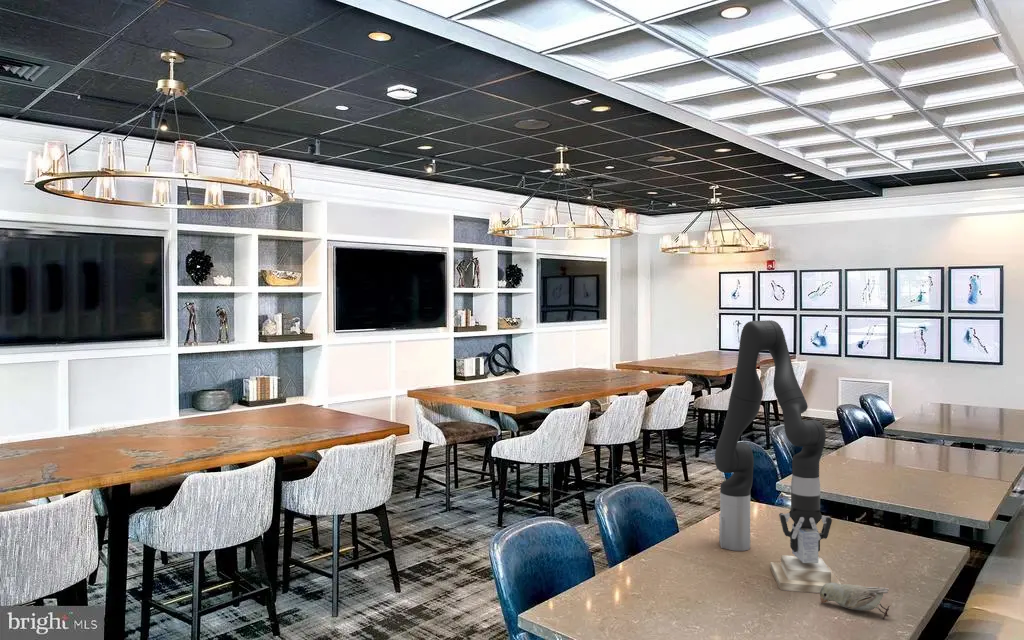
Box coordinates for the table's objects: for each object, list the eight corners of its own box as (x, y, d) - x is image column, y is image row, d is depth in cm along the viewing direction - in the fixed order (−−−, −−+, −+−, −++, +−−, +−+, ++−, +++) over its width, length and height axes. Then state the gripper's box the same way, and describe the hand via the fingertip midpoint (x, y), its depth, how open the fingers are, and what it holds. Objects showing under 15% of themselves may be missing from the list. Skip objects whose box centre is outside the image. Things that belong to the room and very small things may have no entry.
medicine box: (818, 563, 192) (819, 532, 191) (802, 563, 192) (802, 532, 192) (807, 553, 200) (807, 523, 199) (791, 553, 200) (791, 523, 199)
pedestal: (780, 590, 189) (780, 571, 189) (770, 568, 205) (770, 551, 205) (843, 594, 186) (843, 576, 186) (828, 572, 202) (828, 555, 202)
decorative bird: (822, 599, 184) (822, 571, 184) (891, 614, 175) (891, 585, 174) (818, 606, 179) (818, 577, 179) (888, 622, 170) (888, 592, 170)
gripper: (780, 493, 193) (780, 554, 193) (836, 496, 190) (835, 558, 191) (776, 486, 200) (775, 545, 201) (829, 489, 198) (829, 549, 198)
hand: (805, 551), depth 196 cm, fingers closed on medicine box, 5 cm apart
